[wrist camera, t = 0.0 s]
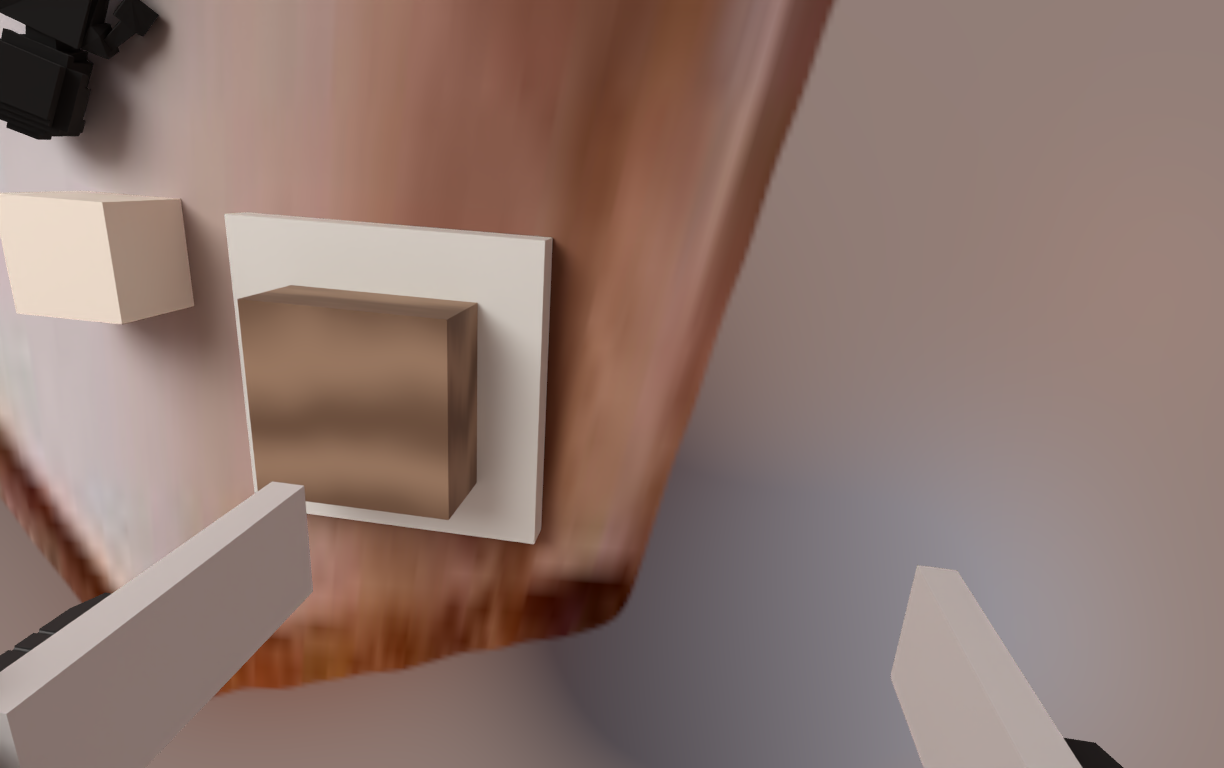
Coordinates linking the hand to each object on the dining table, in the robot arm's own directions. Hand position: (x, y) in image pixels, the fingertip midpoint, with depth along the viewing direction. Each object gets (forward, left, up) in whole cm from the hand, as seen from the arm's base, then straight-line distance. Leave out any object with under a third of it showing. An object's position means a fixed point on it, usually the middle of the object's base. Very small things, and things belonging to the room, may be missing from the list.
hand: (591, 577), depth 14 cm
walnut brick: (+6, -17, -26) cm, 32 cm away
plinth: (+6, -17, -28) cm, 33 cm away
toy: (-15, -36, -28) cm, 49 cm away
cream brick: (-1, -35, -28) cm, 45 cm away
